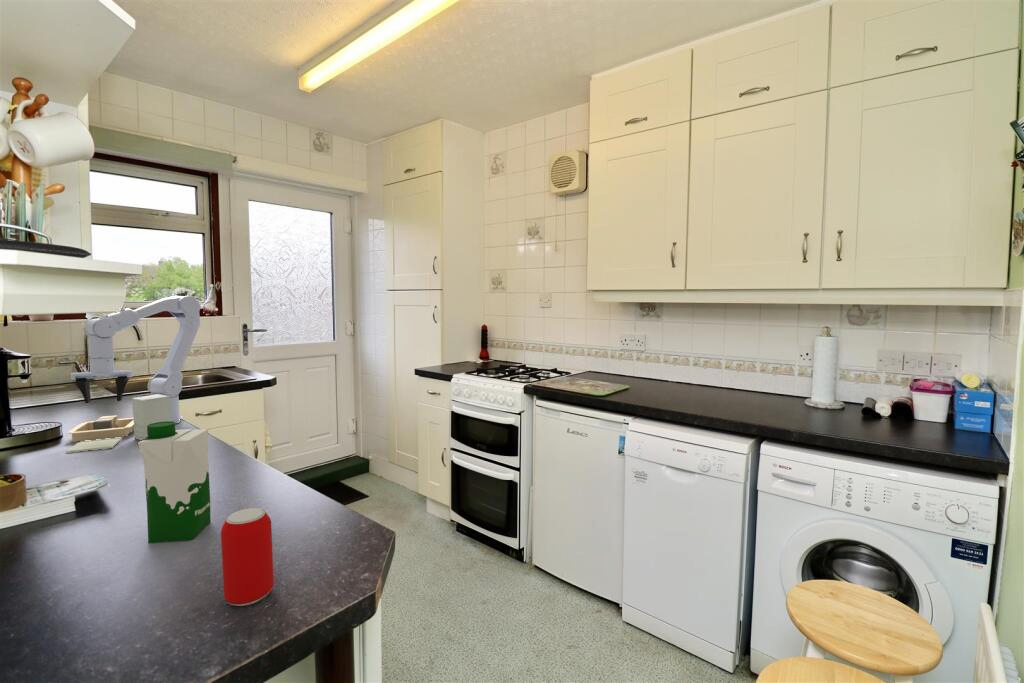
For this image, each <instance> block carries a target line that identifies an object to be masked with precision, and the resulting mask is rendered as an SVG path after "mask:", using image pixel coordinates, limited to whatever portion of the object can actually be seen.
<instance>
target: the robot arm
mask: <svg viewBox="0 0 1024 683" xmlns="http://www.w3.org/2000/svg"><path fill="white" fill-rule="evenodd" d="M122 308H123V309H122V310H121V311H119V312H118V311H116V312H117V313H115V312H112V313H110V314H109V313H108V314H106V313H105V314H102V315H101V318H93V319H90V320H88V321H87V322H86V323H85V325H84V327H83V332H84V334H85V335H86V336H87V337H88V338H87V340H88V355H89V357H88V358H89V371H83V372H81V371H80V372H71V373H70V380H71V381H74V384H75V385H76V387H77V388H78V390H80V391H79V392H81V395H82V397H83V400H84V402H85V404H89V403H91V400H92V399H91V380H94V379H95V380H96V379H113V378H114V382H115V385H116V401H117V402H121V401H122V400H123V399H122V398H123V394H124V390H125V388H126V386H127V384H128V383H129V380H130V378H132V377H134V374H133V370H115V359H114V355H115V354H114V339H113V338H114V337H113V336H115V335H116V333H118V332H121V331H123V330H127V329H128V328H132V327H134V326H136V325H138V324H139V322H140V320H141V319H144V318H146V317H147V318H148V317H150V316H153V315H156V314H159V313H162V312H169V313H170V314H171V315H172V316H173V317H174V318H175V319H176V320H177V322H178V324H179V327H178V329H177V332H176V334H175V337H174V339H173V342H172V344H171V346H170V348H169V350H168V353H167V355H166V358H165V360H164V362H163V365H162V367H160V368H159V369H158V370H157V371H155V374H154V376H152V378H150V379H149V381H148V383H147V390H148V392H150V393H151V395H156V394H160V395H165V396H170V411H171V422H175V424H179V423H180V422H181V421H182V419H183V418H184V415H181V410H180V409H181V408H180V400H179V398H180V397H179V394H180V393H181V391H182V389H183V379H184V375H183V373H182V369H183V367H184V365H185V362H186V359H187V357H188V354H189V352H190V349H191V347H192V346H193V343H194V340H195V338H196V335H197V333H198V331H199V328H200V325H201V316H200V315H201V314H200V311H201V308H202V306H201V304H200V303H199V301H198V299H197V298H196V297H194V296H193V295H185V296H184V295H183V296H182V295H170V296H167V297H163V298H160V299H158V300H156V301H155V300H154V302H150V303H147V304H146V305H143V306H141V307H138V308H135V309H131V308H128V307H127V308H125V307H122ZM179 419H181V420H179Z"/></svg>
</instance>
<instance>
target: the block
mask: <svg viewBox="0 0 1024 683" xmlns="http://www.w3.org/2000/svg"><path fill="white" fill-rule="evenodd" d="M118 419H119V418H118V415H105V416H104V415H103V416H100V417H99V418H97V419H96V420H93V421H94V422H93V430H99V429H110V428H118Z"/></svg>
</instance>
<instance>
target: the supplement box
mask: <svg viewBox="0 0 1024 683" xmlns="http://www.w3.org/2000/svg"><path fill="white" fill-rule="evenodd" d="M131 399H132V400H131V403H132V415H133V416H132V418H133V419H134V439H135V438H136V439H135V440H138V439H139V440H138V441H141V440H143V439H145V438H146V437H147V436H148V434H147V426H148V425H149V424H152V423H157V422H166V421H171V411H170V396H165V395H160V394H156V395H152V394H149V395H145V396H144V395H143V396H137V397H132V398H131Z"/></svg>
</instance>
